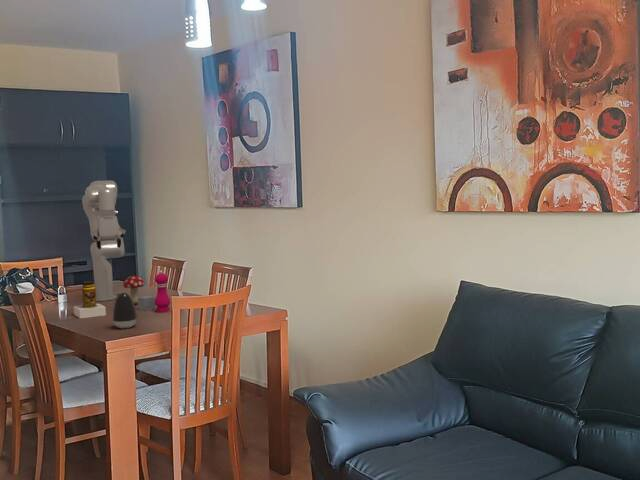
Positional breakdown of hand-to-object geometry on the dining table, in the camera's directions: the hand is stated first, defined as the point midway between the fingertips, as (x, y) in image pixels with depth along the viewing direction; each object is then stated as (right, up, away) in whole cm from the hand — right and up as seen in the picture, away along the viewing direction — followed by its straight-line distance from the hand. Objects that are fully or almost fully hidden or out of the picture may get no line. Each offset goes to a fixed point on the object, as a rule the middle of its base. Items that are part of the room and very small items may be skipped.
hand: (109, 248), depth 360 cm
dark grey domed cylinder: (+20, -34, -45) cm, 60 cm away
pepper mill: (+29, -31, -10) cm, 44 cm away
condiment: (-6, -28, -14) cm, 32 cm away
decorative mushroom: (+10, -29, +11) cm, 33 cm away
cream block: (-5, -32, -14) cm, 35 cm away
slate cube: (+19, -30, -2) cm, 36 cm away
